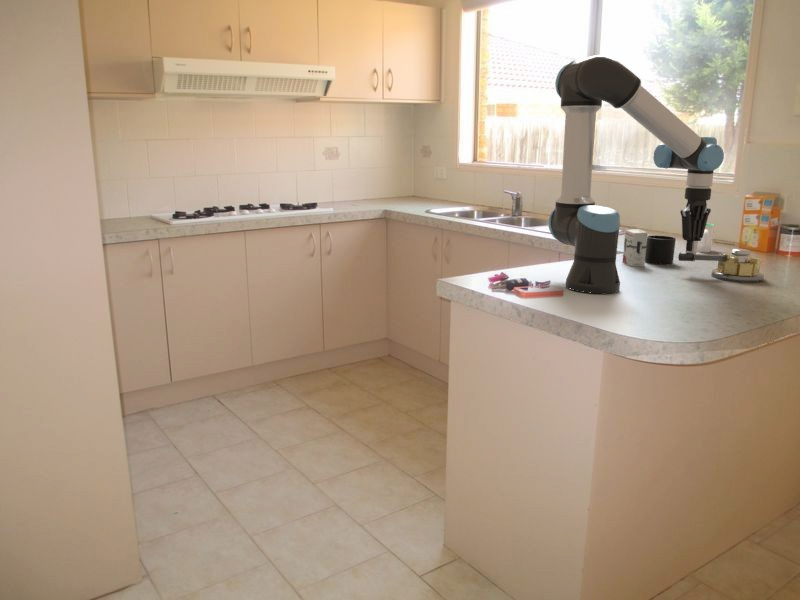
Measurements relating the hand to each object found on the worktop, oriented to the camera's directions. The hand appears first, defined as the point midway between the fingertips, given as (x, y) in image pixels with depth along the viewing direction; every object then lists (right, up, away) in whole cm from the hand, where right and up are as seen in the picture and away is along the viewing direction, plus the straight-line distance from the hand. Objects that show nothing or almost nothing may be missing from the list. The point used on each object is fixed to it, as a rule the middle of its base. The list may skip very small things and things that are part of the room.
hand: (689, 260), depth 216 cm
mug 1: (-2, +1, +23) cm, 23 cm away
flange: (+14, -6, -2) cm, 15 cm away
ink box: (-12, 0, +17) cm, 21 cm away
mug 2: (+25, +6, +48) cm, 55 cm away
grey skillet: (+8, -4, -2) cm, 9 cm away
